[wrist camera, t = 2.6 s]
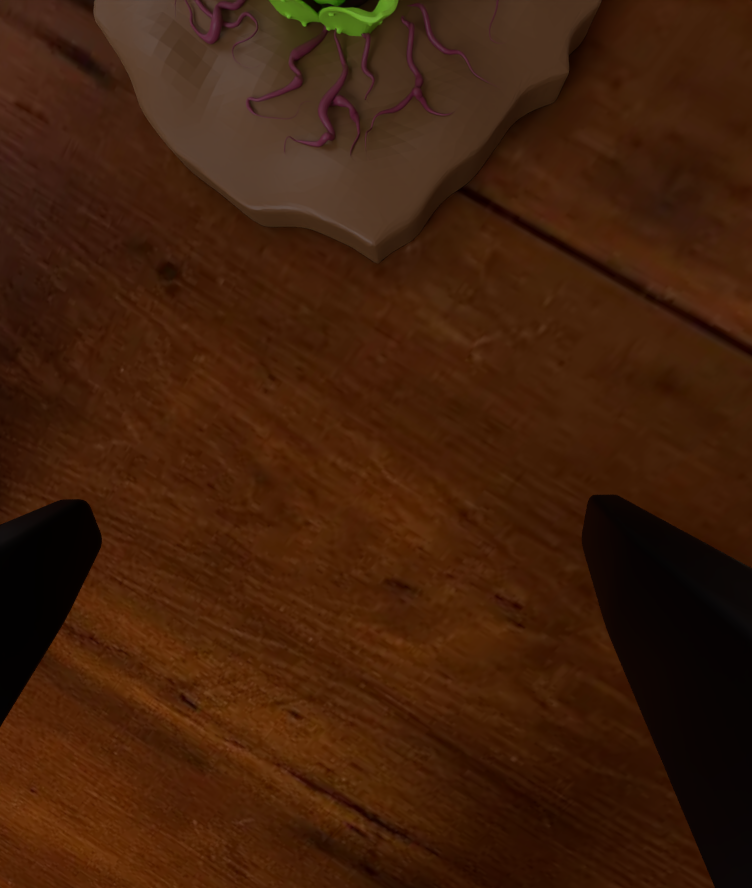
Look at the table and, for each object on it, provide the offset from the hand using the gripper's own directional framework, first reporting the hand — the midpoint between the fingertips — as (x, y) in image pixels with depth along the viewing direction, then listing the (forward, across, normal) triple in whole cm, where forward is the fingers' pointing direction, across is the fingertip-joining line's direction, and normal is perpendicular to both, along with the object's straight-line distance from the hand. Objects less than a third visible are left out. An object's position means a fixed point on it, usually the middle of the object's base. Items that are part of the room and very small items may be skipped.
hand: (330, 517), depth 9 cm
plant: (+21, +1, -12) cm, 24 cm away
